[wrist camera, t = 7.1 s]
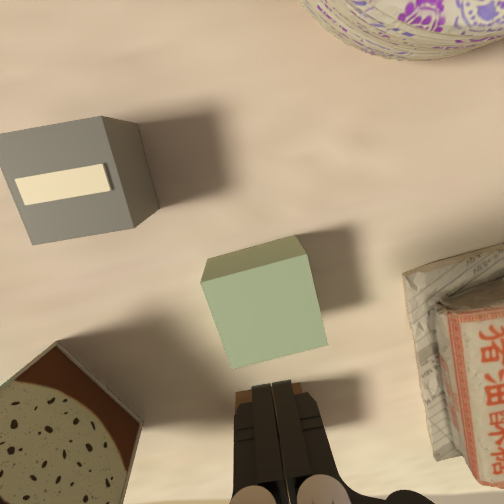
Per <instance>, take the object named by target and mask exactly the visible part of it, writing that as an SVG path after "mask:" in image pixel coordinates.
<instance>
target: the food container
mask: <svg viewBox="0 0 504 504" xmlns="http://www.w3.org/2000/svg"><path fill="white" fill-rule="evenodd" d="M142 426H143V421H142V420H141V419H140V418H139V417H138V416H137V415H135V414H134V413H133V412H132V411H131V410H130V409H129V408H128V407H127V406H126V405H125V404H124V403H123V402H122V401H120V400H119V399H118V398H117V397H116V396H115V395H114V394H113V393H112V392H111V391H110V390H109V389H108V388H107V387H106V386H104V385H103V384H102V383H101V382H100V381H99V380H98V379H97V378H96V377H95V376H94V375H93V374H92V373H91V372H89V371H88V370H87V369H86V368H85V367H84V366H83V365H82V364H81V363H80V362H79V361H78V360H77V359H76V358H74V357H73V356H72V355H71V354H70V353H69V352H68V351H67V350H66V349H65V348H64V347H63V346H62V345H61V344H59V343H58V342H57V341H56V342H54V343H53V344H52V345H51V346H49V347H48V348H47V349H46V350H45V351H43V352H42V353H41V354H40V355H38V356H37V357H36V358H35V359H33V360H32V361H31V362H30V363H28V364H27V365H26V366H25V367H24V368H22V369H21V370H20V371H19V372H17V373H16V374H15V375H14V376H12V377H11V378H10V379H9V380H7V381H6V382H5V383H4V384H3V385H1V386H0V504H123V501H124V497H125V493H126V489H127V485H128V481H129V477H130V473H131V469H132V465H133V461H134V458H135V454H136V450H137V446H138V442H139V438H140V434H141V430H142Z"/></svg>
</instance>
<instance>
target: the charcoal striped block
mask: <svg viewBox="0 0 504 504" xmlns="http://www.w3.org/2000/svg"><path fill="white" fill-rule="evenodd" d="M0 167H1V170H2V172H3V175H4V177H5V180H6V182H7V184H8V187H9V189H10V192H11V194H12V197H13V199H14V202H15V204H16V206H17V209H18V211H19V214H20V216H21V219H22V221H23V223H24V226H25V228H26V231H27V233H28V236H29V238H30V240H31V243H32V245H38V244H44V243H50V242H56V241H62V240H67V239H73V238H79V237H85V236H91V235H97V234H103V233H109V232H115V231H121V230H126V229H132V228H135V227H136V226H138V225H139V224H140V223H142V222H143V221H144V220H146V219H147V218H148V217H150V216H151V215H152V214H153V213H155V212H156V211H157V210H159V209H160V208H159V204H158V200H157V197H156V193H155V189H154V185H153V181H152V178H151V174H150V170H149V166H148V162H147V159H146V155H145V151H144V147H143V143H142V140H141V136H140V132H139V128H138V124H136V123H132V122H127V121H122V120H118V119H113V118H109V117H104V116H97V117H92V118H86V119H81V120H75V121H69V122H64V123H58V124H53V125H47V126H41V127H36V128H30V129H24V130H19V131H13V132H8V133H2V134H0Z"/></svg>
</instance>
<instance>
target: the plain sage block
mask: <svg viewBox="0 0 504 504" xmlns="http://www.w3.org/2000/svg"><path fill="white" fill-rule="evenodd" d="M200 283H201V286H202V289H203V291H204V294H205V297H206V300H207V302H208V305H209V308H210V311H211V313H212V316H213V319H214V322H215V324H216V327H217V330H218V333H219V335H220V338H221V341H222V344H223V346H224V349H225V352H226V354H227V357H228V360H229V363H230V365H231V368H232V369H236V368H240V367H244V366H248V365H252V364H256V363H260V362H264V361H268V360H271V359H275V358H279V357H283V356H287V355H291V354H295V353H299V352H303V351H307V350H311V349H315V348H319V347H323V346H327V345H328V342H327V337H326V333H325V329H324V325H323V320H322V316H321V312H320V308H319V303H318V299H317V295H316V290H315V286H314V282H313V278H312V273H311V269H310V265H309V261H308V256H307V253H306V252H305V250H304V248H303V247H302V245H301V243H300V242H299V240H298V238H297V237H296V235H293V236H290V237H286V238H282V239H279V240H275V241H271V242H268V243H264V244H261V245H257V246H253V247H250V248H246V249H242V250H239V251H235V252H231V253H228V254H224V255H220V256H217V257H213V258H210V259H207V263H206V266H205V269H204V272H203V276H202V279H201V282H200Z"/></svg>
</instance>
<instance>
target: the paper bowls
mask: <svg viewBox="0 0 504 504" xmlns="http://www.w3.org/2000/svg"><path fill="white" fill-rule="evenodd" d="M300 3H301V4H302V6H303V7H304V8H305V9H306V11H307V12H308V13H310V14H311V16H312V17H313V18H314V19H315V20H317V21H318V22H319V23H320V24H321V26H323V27H324V28H325V29H326V30H327V31H329V32H330V33H332V34H333V35H334V36H335V37H337V38H338V39H340V40H341V41H343V42H344V43H346V44H348V45H350V46H353V47H355V48H357V49H359V50H361V51H363V52H366V53H369V54H371V55H374V56H379V57H383V58H386V59H396V60H398V61H400V60H408V61H425V60H438V59H441V58H446V57H452V56H456V55H459V54H463V53H466V52H469V51H472V50H475V49H477V48H480V47H482V46H485V45H487V44H490V43H493V42H495V41H498V40H501V39H503V38H504V0H300Z"/></svg>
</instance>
